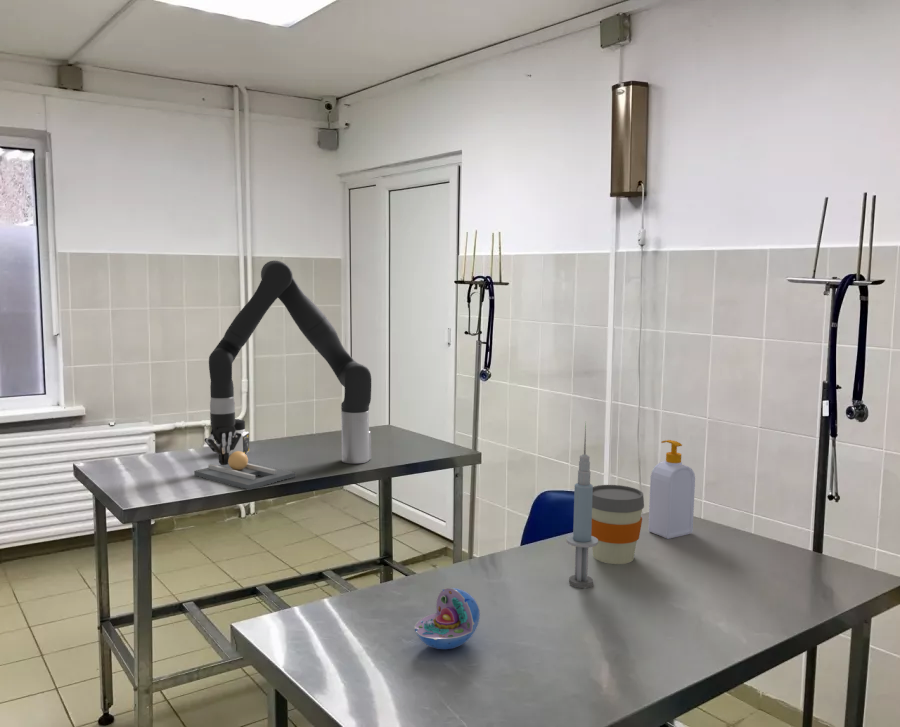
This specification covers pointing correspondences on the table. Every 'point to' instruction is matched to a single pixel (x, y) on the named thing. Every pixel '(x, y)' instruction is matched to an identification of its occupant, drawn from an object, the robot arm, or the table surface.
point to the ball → (238, 460)
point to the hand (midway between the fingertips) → (224, 464)
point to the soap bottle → (671, 496)
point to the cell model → (450, 620)
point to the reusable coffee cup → (616, 522)
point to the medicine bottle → (244, 439)
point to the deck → (244, 475)
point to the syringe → (582, 523)
